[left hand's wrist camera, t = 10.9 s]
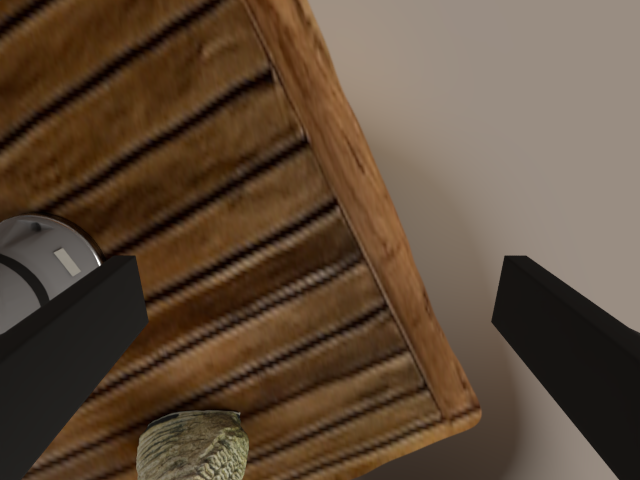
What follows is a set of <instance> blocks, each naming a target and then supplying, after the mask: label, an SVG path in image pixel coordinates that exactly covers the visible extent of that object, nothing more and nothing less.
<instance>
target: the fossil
mask: <svg viewBox="0 0 640 480" xmlns="http://www.w3.org/2000/svg"><path fill="white" fill-rule="evenodd" d="M239 417H240V413H237V412H233V411H218V410H213V411H212V410H206V411H198V410H195V411H185V412H177V413H172V414H169V415H167V416H164V417H161V418H160V419H158V420H155V421H153V422H152V423H150V424H149V425H148V427H147V429H146V431H145V432H144V433H143V434H142V435H141V436H140V438H139V446H138V454H137V461H136V462H137V466H136V468H137V472H138V480H242V478H243V475H244V471H245V466H246V462H247V455H248V448H249V439H248V436H247V434H246V433H245V432H244V430H243V429H242V427H241V426H240V423H241V422H240V418H239Z"/></svg>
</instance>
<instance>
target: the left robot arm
mask: <svg viewBox="0 0 640 480" xmlns="http://www.w3.org/2000/svg"><path fill="white" fill-rule="evenodd" d="M148 322H149V321H148V316H147V311H146V306H145V301H144V296H143V291H142V286H141V281H140V276H139V271H138V266H137V261H136V256H113V257H111V258H110V259H108V260H107V261H106V259H105V257H104V255H103V253H102V251H101V249H100V248H99V246H98V245H97V243H96V242H95V241H94V240H93V239H92V238H91V237H90V236H89V235H88V234H87V233H86V232H85V231H84V230H83V229H81V228H80V227H78V226H77V225H75V224H74V223H72V222H70V221H68V220H66V219H64V218H61V217H59V216H56V215H52V214H47V213H25V214H21V215H18V216H15V217H12V218H9V219H7V220H4V221H2V222H1V223H0V480H21V479H22V478H23V476H24V475H25V474H26V473H27V471H28V470H29V469H30V468H31V467H32V465H33V464H34V463H35V462H36V460H37V459H38V458H39V457H40V455H41V454H42V453H43V452H44V451H45V449H46V448H47V447H48V446H49V444H50V443H51V442H52V441H53V439H54V438H55V437H56V436H57V434H58V433H59V432H60V431H61V430H62V428H63V427H64V426H65V425H66V423H67V422H68V421H69V420H70V418H71V417H72V416H73V415H74V413H75V412H76V411H77V410H78V409H79V407H80V406H81V405H82V404H83V402H84V401H85V400H86V399H87V397H88V396H89V395H90V394H91V393H92V391H93V390H94V389H95V388H96V386H97V385H98V384H99V383H100V381H101V380H102V379H103V378H104V376H105V375H106V374H107V373H108V372H109V370H110V369H111V368H112V367H113V365H114V364H115V363H116V362H117V360H118V359H119V358H120V357H121V356H122V354H123V353H124V352H125V351H126V349H127V348H128V347H129V346H130V344H131V343H132V342H133V341H134V339H135V338H136V337H137V336H138V335H139V333H140V332H141V331H142V330H143V328H144V327H145V326H146V325H147V323H148ZM491 322H492V323H493V325H494V326H495V327H496V328H497V330H498V331H499V332H500V333H501V335H502V336H503V337H504V338H505V339H506V341H507V342H508V343H509V344H510V346H511V347H512V348H513V349H514V351H515V352H516V353H517V354H518V355H519V357H520V358H521V359H522V360H523V362H524V363H525V364H526V365H527V367H528V368H529V369H530V370H531V372H532V373H533V374H534V375H535V376H536V378H537V379H538V380H539V381H540V383H541V384H542V385H543V386H544V388H545V389H546V390H547V391H548V393H549V394H550V395H551V396H552V397H553V399H554V400H555V401H556V402H557V404H558V405H559V406H560V407H561V408H562V410H563V411H564V412H565V413H566V415H567V416H568V417H569V418H570V420H571V421H572V422H573V423H574V425H575V426H576V427H577V428H578V430H579V431H580V432H581V433H582V434H583V436H584V437H585V438H586V439H587V441H588V442H589V443H590V444H591V446H592V447H593V448H594V449H595V451H596V452H597V453H598V454H599V455H600V457H601V458H602V459H603V460H604V462H605V463H606V464H607V465H608V466H609V468H610V469H611V470H612V471H613V473H614V474H615V475H616V476H617V478H618V479H619V480H640V333H639V332H637V331H634V330H632V329H630V328H628V327H627V326H625V325H624V324H623V323H621V322H620V321H618V320H617V319H615V318H614V317H613V316H611V315H610V314H608V313H607V312H606V311H604V310H603V309H601V308H600V307H598V306H597V305H596V304H594V303H593V302H591V301H590V300H588V299H587V298H586V297H584V296H583V295H581V294H580V293H579V292H577V291H576V290H574V289H573V288H571V287H570V286H569V285H567V284H566V283H564V282H563V281H562V280H560V279H559V278H557V277H556V276H554V275H553V274H551V273H550V272H549V271H547V270H546V269H544V268H543V267H542V266H540V265H539V264H537V263H536V262H534V261H533V260H532V259H530V258H529V257H527V256H504V261H503V266H502V271H501V276H500V281H499V286H498V291H497V296H496V301H495V306H494V311H493V316H492V321H491Z"/></svg>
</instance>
